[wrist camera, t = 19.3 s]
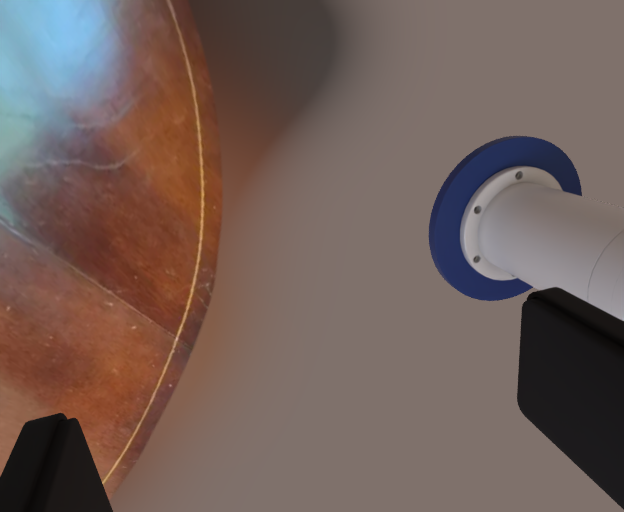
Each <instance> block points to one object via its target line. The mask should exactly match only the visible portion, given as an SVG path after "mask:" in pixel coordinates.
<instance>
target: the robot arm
mask: <svg viewBox="0 0 624 512" xmlns="http://www.w3.org/2000/svg"><path fill="white" fill-rule="evenodd" d="M460 243H461V248H462V252H463V254H464V257H465V259H466V260H467V262H468V263H469V264H470V266H471V267H472V268H473V269H475V270H476V271H477V272H479V273H480V274H482V275H484V276H485V277H488V278H491V279H493V280H502V281H503V280H512V279H515V278H519V279H520V280H522V281H524V282H526V283H527V284H529V285H531V286H533V287H535V288H536V289H538V290H540V291H537V292H532V293H531V294H529V296H528V298H527V301H525V302H524V303H523V306H522V319H521V337H520V356H519V374H518V393H517V401H518V405H519V407H520V410H521V411H522V413H523V414H524V415H525V417H527V419H529V420H530V421H531V422H532V423H533V424H534V425H535V426H536V427H537V428H538V429H539V430H540V431H541V432H542V433H543V434H544V435H545V436H546V437H548V438H549V439H550V440H551V441H552V442H553V443H554V444H555V445H556V446H557V447H558V448H559V449H560V450H561V451H562V452H564V453H565V454H566V455H567V456H568V457H569V458H570V459H571V460H572V461H573V462H574V463H575V464H576V465H577V466H578V467H579V468H580V469H581V470H583V471H584V472H585V473H586V474H587V475H588V476H589V477H590V478H591V479H592V480H593V481H594V482H595V483H596V484H597V485H598V486H599V487H600V488H602V489H603V490H604V491H605V492H606V493H607V494H608V495H609V496H610V497H611V498H612V499H613V500H614V501H615V502H617V504H618V505H620V506H621V507H622V508H623V509H624V208H623V207H620V206H616V205H612V204H609V203H605V202H601V201H598V200H594V199H590V198H586V197H583V196H579V195H575V194H572V193H568V192H564V191H563V190H562V188H561V186H560V185H559V183H558V181H557V180H556V179H555V178H554V177H553V176H552V175H551V174H549V173H548V172H546V171H544V170H541V169H538V168H535V167H530V166H514V167H510V168H506V169H504V170H502V171H500V172H498V173H496V174H494V175H493V176H491V177H490V178H488V179H487V180H486V181H485V182H484V183H483V184H482V185H481V186H480V187H479V188H478V189H477V190H476V192H475V193H474V194H473V196H472V197H471V199H470V201H469V203H468V204H467V206H466V208H465V211H464V214H463V217H462V221H461V227H460ZM0 512H113V510H112V508H111V506H110V503H109V500H108V497H107V495H106V492H105V489H104V487H103V484H102V482H101V479H100V476H99V474H98V471H97V468H96V466H95V463H94V461H93V458H92V455H91V453H90V450H89V447H88V445H87V442H86V440H85V437H84V434H83V432H82V429H81V426H80V424H79V422H78V420H77V419H76V418H71V419H68V420H67V418H66V416H65V415H64V414H63V413H58V414H54V415H51V416H47V417H43V418H39V419H35V420H31V421H28V422H26V423H25V425H24V426H23V428H22V430H21V432H20V435H19V437H18V439H17V441H16V443H15V446H14V448H13V450H12V452H11V455H10V457H9V459H8V461H7V463H6V466H5V468H4V470H3V472H2V475H1V477H0Z"/></svg>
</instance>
